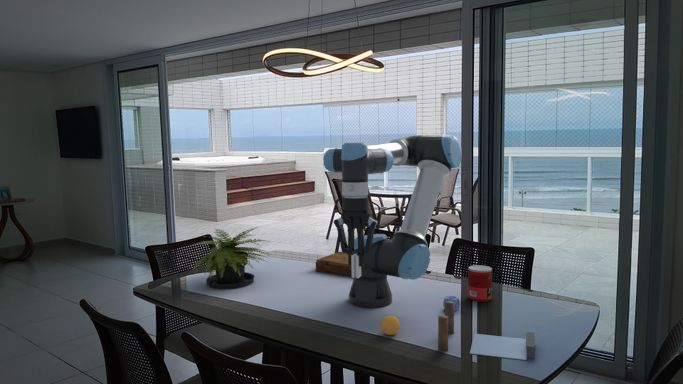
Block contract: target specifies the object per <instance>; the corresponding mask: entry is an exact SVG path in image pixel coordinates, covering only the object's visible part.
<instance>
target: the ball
mask: <svg viewBox="0 0 683 384" xmlns="http://www.w3.org/2000/svg"><path fill="white" fill-rule="evenodd" d="M400 326H401V323H400V321H399V319H398V317H396V316H394V315H387V316H385V317H383V318H382V319H381V322H380V328H381V331H382V332H383V333H384V334H385V335H388V336H393V335H396V334H397V333H398V332H399V330H400V329H401V327H400Z"/></svg>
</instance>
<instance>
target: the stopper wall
mask: <svg viewBox="0 0 683 384" xmlns="http://www.w3.org/2000/svg"><path fill="white" fill-rule="evenodd" d="M525 334H526V335H525V337H526V338H525V339H526V354H527V358H528V359H535V358H536V341H535V340H536V339H535V332H531V331H526V333H525Z"/></svg>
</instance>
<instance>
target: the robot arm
mask: <svg viewBox="0 0 683 384" xmlns="http://www.w3.org/2000/svg"><path fill="white" fill-rule="evenodd" d="M322 160H323V165H324V168H325V169H326V170H327V171H328V172H330V173H337V174H338V173H341V194H342V196H343V197H342V202H341V203H342V212H341V215H340V217H339V218H337V219H334V220H333V224H334V226H335V227H336V231H337V235H338V240H339V245H340V249H341V252H343V253H347V254H348V264H349V266H352V277H351V278H352V279H353V280H352V283H351V286H350V289H349V293H348V302H349V304H351V305H352V306H353V305H354V306H357V307H360V308H380V307H385V306H388V305H390V304H391V303H393V293H392V290H391V287H390V285H389V281H388V276H389V277H395V278H401V279H402V280H413V281H414V280H417V279H419V278H422V277H423V276H424V275H425V273H426V272H427V270H428V269H429V267H430V266H429V265H430V262H431V258H430V256H431V251H430V248H429V247H428V242H427V240H426V236H427V232H428V230H429V226H430V222H431V219H432V217H433V213H434V209H435V208H436V203H437V201H438V198H439V194H440V191H441V188H442V186H443V183H444V179H445V178H447V177H449V176H450V174H451V171H452V169H457V168H458V167H459V166H460V165H461V162H462V148H461V144H460V142H459V139H458V138H457V137H456V136H455V135H452V134H444V133H443V134H428V135H427V134H425V135H424V134H417V135H411V136H407V137H406V136H405V137H401V138H397V139H393V140H391V141H389V142H386V143H378V144H369V145H368V143H366V142H345V143H343V144H342V146H341V148H337V147H336V148H329V149H328V150H326V151H325V153H324V155H323V157H322ZM393 166H396V167H398V166H399V167H400V166H408V167H414V168H415V167H416V168H418V170H419V173H418V176H417V178H416V182H415V184H414V188H413V191H412V194H411V197H410V200H409V203H408V206H407V208H406V212H405V215H404V217H403V221H402V223H401V227H400V230H398V231H395V232H394V233H393V235H392V238H391V240H390V239H389V240H388V237H387V235H386V234H384V233H375V230H376V227H377V225H378V224H379V221H378V220H377V219H373V218H372V217H371V215H370V212H369V198H368V195H369V175H376V174H381V175H382V174H383V173H387V172H389V171H391V169H392V167H393ZM367 223H368V224H367ZM344 224H345V225H346V227H347V230H346V231H347V238H346V233H345V227H344ZM366 225H368V226H369V227H368V230H367V234H366V235H365V226H366ZM355 230H356V233H357V234H356V235H357V237H355Z"/></svg>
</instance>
